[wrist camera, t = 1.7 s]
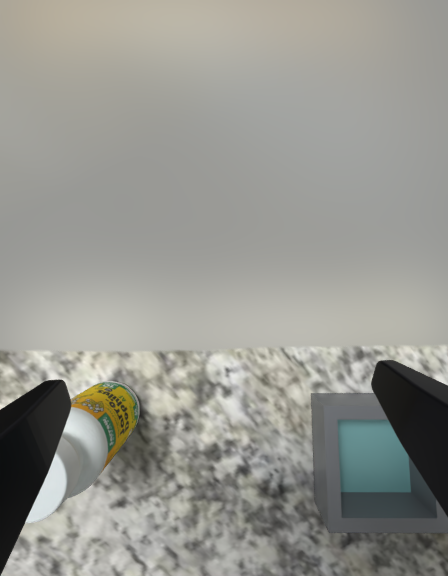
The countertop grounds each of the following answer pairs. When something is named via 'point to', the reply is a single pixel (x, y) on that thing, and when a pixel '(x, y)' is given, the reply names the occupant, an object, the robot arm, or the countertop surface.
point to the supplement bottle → (87, 443)
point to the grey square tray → (366, 471)
